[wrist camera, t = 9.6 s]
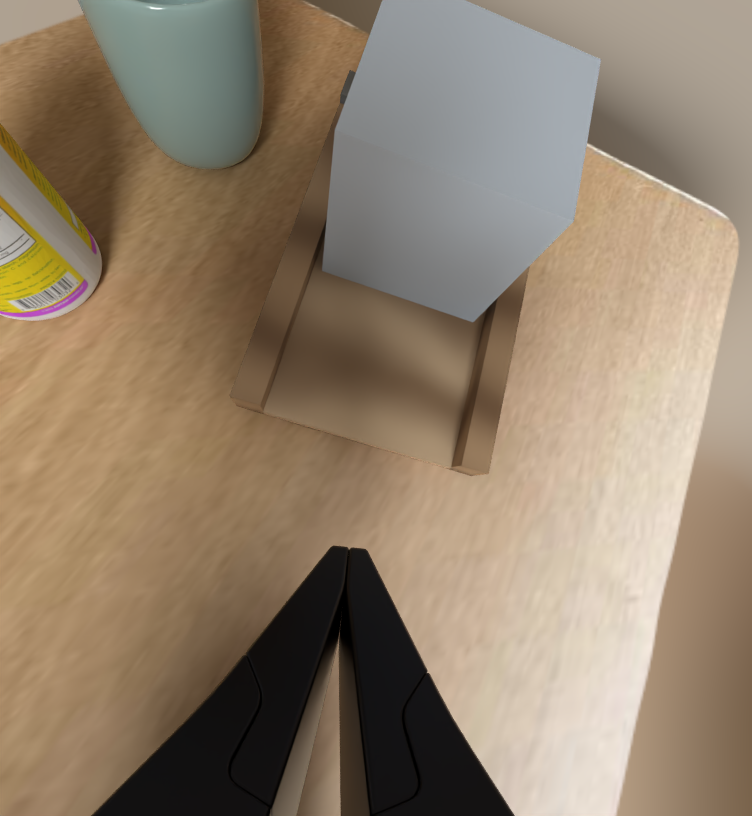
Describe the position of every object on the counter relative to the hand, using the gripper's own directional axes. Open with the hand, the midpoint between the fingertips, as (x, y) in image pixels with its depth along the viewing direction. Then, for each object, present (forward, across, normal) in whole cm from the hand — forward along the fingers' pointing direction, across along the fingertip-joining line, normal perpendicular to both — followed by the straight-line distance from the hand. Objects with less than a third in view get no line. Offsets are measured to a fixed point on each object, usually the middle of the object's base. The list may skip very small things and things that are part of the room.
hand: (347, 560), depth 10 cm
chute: (+21, +2, +2) cm, 21 cm away
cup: (+25, -12, +9) cm, 29 cm away
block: (+22, +2, +5) cm, 23 cm away
